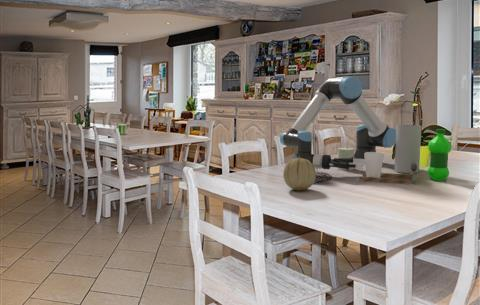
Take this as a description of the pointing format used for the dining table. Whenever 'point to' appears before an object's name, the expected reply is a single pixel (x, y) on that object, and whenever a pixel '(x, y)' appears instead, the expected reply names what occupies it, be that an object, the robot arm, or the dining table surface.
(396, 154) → the cylinder vase
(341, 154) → the can
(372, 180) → the wooden tray
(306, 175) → the cantaloupe
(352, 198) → the dining table surface
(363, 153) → the robot arm
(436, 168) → the plastic bottle
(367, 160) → the foam cup
